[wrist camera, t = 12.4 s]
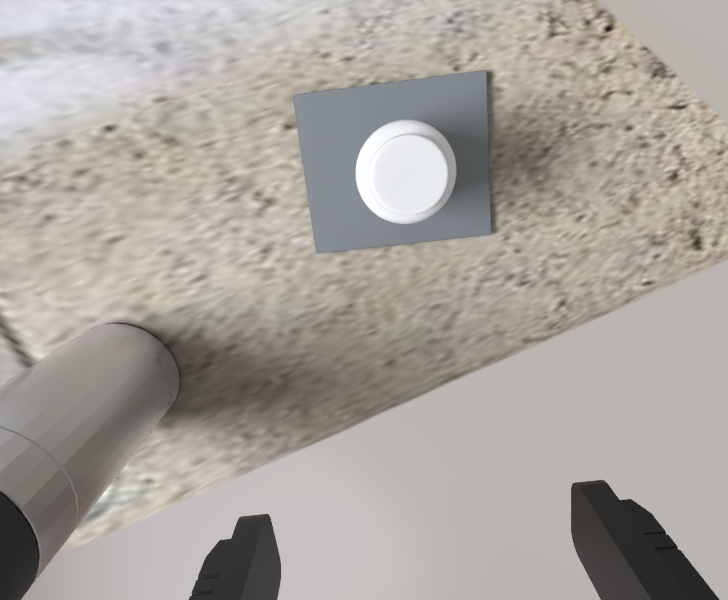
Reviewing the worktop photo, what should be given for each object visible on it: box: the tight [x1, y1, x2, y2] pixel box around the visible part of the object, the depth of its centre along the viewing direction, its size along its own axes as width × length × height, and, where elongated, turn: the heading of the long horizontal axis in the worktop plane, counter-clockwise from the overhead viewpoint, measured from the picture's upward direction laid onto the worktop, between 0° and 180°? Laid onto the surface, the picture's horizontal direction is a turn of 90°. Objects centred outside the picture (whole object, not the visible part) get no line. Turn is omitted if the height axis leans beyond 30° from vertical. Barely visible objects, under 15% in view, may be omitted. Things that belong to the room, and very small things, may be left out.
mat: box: [293, 70, 491, 254], centre depth 33 cm, size 13×11×1 cm
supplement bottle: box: [356, 120, 456, 224], centre depth 28 cm, size 6×6×10 cm
